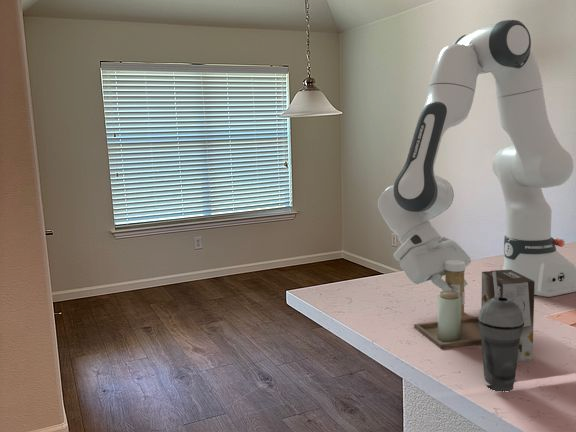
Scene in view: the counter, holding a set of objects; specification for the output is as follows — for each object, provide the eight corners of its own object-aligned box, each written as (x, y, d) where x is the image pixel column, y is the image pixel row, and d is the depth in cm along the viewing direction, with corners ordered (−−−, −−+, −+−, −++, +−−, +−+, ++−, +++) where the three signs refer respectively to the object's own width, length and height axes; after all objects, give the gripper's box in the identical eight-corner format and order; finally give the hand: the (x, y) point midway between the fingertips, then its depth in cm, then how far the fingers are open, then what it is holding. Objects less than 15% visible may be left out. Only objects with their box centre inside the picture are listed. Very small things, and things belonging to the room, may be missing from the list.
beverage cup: (518, 400, 84) (522, 280, 81) (472, 390, 88) (473, 275, 85) (525, 381, 91) (528, 269, 88) (481, 372, 94) (483, 265, 91)
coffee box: (534, 365, 97) (537, 281, 94) (501, 367, 96) (502, 283, 94) (509, 345, 106) (511, 268, 103) (478, 348, 105) (480, 270, 103)
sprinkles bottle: (468, 317, 123) (469, 261, 121) (456, 321, 120) (456, 264, 118) (452, 312, 126) (453, 258, 124) (440, 316, 124) (440, 261, 122)
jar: (453, 333, 111) (453, 288, 109) (465, 341, 106) (465, 295, 105) (433, 336, 110) (433, 291, 108) (444, 344, 105) (444, 297, 104)
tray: (480, 324, 118) (480, 316, 118) (512, 343, 106) (513, 335, 106) (414, 331, 115) (414, 324, 115) (440, 353, 103) (440, 344, 103)
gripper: (440, 243, 136) (473, 287, 130) (388, 257, 124) (422, 306, 118) (455, 228, 132) (490, 273, 126) (403, 241, 120) (439, 291, 114)
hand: (457, 289), depth 122 cm, fingers closed on sprinkles bottle, 4 cm apart
